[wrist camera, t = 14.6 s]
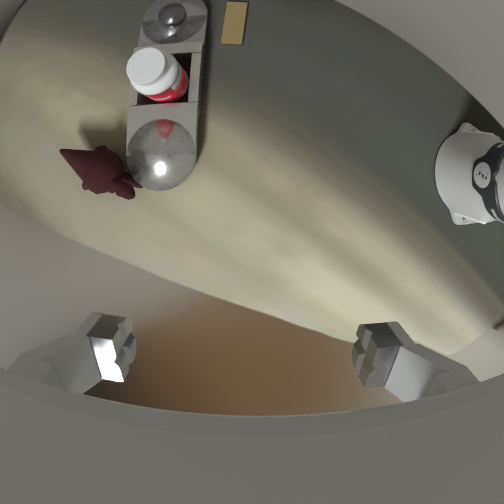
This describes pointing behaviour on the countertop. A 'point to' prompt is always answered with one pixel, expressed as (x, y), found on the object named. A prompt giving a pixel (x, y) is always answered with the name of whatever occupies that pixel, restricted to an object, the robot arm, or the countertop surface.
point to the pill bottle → (157, 75)
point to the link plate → (234, 23)
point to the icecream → (101, 171)
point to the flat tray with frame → (170, 114)
